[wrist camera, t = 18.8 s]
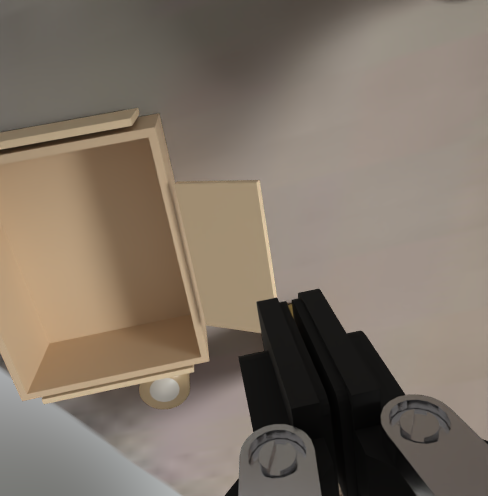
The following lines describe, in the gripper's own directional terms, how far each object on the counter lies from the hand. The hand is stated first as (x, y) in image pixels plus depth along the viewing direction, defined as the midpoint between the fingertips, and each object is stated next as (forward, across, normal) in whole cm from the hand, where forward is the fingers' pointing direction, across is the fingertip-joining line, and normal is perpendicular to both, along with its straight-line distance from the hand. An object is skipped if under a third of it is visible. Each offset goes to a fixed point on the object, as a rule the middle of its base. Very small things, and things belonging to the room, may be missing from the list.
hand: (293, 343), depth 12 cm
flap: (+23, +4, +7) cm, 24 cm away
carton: (+31, +12, +7) cm, 34 cm away
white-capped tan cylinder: (+31, +9, +22) cm, 39 cm away
